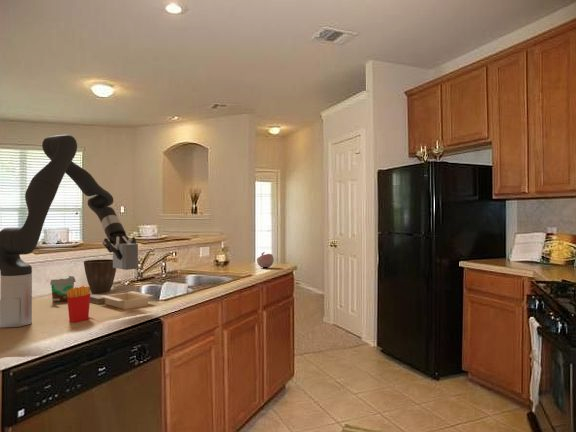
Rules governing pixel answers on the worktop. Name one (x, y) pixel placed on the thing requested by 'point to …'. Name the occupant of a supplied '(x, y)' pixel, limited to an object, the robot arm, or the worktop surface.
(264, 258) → the apple
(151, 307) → the worktop surface
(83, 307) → the french fries
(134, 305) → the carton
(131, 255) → the slim box
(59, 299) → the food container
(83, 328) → the worktop surface
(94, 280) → the plant pot
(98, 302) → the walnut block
